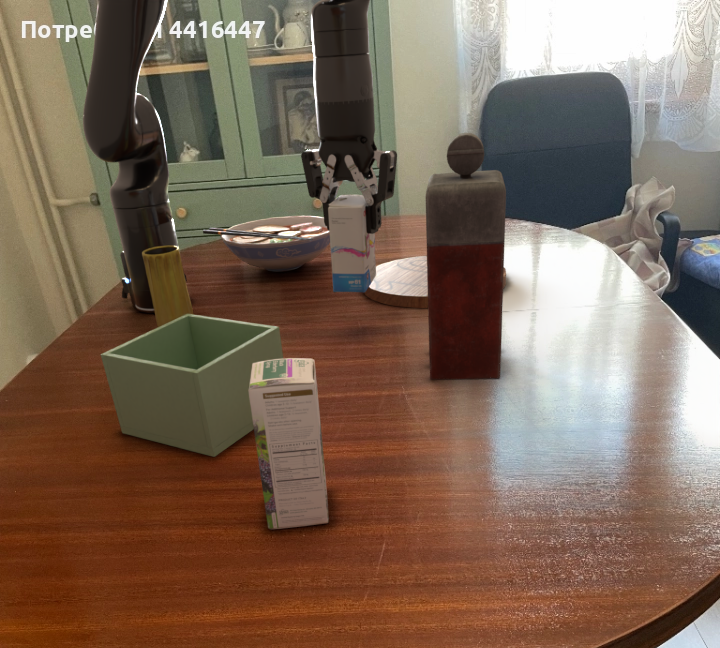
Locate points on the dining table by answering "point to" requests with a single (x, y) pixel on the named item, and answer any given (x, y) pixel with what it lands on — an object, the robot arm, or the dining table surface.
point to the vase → (167, 283)
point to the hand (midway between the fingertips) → (352, 230)
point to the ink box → (351, 245)
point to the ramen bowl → (277, 241)
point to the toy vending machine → (465, 265)
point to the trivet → (403, 283)
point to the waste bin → (189, 381)
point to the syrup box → (289, 441)
